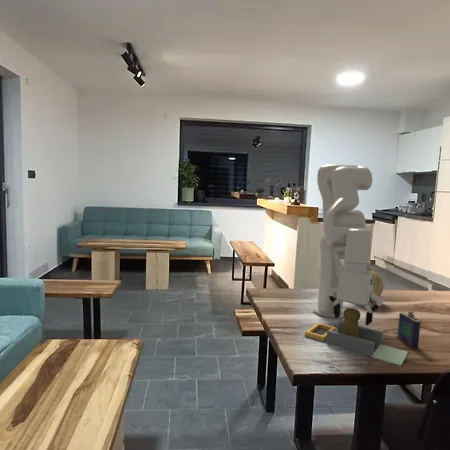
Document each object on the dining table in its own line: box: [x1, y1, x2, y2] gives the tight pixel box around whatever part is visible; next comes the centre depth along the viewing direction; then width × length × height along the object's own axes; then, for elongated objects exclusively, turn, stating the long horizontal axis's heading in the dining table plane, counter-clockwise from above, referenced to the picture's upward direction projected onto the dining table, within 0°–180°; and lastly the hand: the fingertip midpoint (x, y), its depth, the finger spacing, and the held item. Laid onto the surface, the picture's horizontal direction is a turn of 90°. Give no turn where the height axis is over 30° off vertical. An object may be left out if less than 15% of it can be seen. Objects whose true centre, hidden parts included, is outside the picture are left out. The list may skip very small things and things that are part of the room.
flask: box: [396, 310, 421, 350], centre depth 119 cm, size 9×3×11 cm, turn 8°
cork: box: [342, 307, 361, 338], centre depth 117 cm, size 6×6×11 cm
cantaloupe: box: [369, 270, 384, 302], centre depth 163 cm, size 15×15×15 cm
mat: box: [371, 344, 409, 367], centre depth 110 cm, size 11×8×1 cm
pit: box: [304, 322, 337, 342], centre depth 123 cm, size 11×6×2 cm, turn 144°
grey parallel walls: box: [325, 320, 384, 358], centre depth 117 cm, size 12×14×4 cm
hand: (352, 320), depth 116 cm, fingers open, 9 cm apart
